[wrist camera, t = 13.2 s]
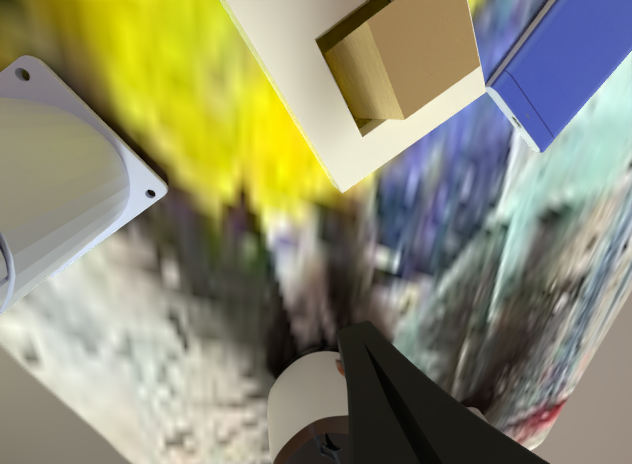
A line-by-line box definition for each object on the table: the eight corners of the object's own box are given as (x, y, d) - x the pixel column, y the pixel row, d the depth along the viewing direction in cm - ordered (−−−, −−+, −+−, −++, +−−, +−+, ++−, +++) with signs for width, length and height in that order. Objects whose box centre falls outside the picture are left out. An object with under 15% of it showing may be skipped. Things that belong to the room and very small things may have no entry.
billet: (354, 118, 16) (404, 119, 11) (323, 54, 15) (366, 20, 9) (404, 81, 16) (480, 65, 11) (380, 12, 14) (457, -48, 9)
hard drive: (655, -123, 14) (495, 86, 17) (682, -3, 17) (546, 153, 20) (618, -102, 15) (476, 88, 18) (650, 5, 19) (527, 150, 22)
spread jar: (253, 385, 25) (258, 575, 15) (319, 301, 22) (381, 460, 12) (343, 404, 30) (393, 554, 20) (404, 337, 27) (497, 470, 17)
